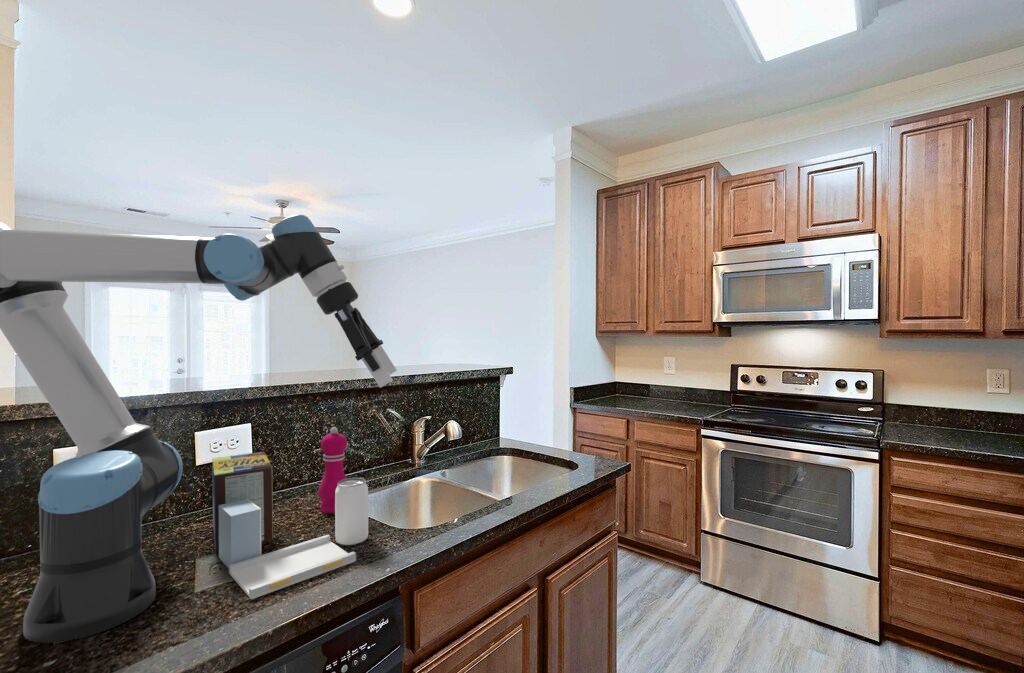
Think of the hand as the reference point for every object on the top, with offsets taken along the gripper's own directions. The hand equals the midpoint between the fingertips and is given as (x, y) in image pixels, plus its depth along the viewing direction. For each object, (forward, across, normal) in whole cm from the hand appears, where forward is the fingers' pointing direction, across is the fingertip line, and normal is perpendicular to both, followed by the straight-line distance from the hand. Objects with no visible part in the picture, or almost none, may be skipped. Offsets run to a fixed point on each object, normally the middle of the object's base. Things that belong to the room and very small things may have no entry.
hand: (389, 378), depth 98 cm
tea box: (+14, -6, +40) cm, 43 cm away
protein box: (+13, +7, +45) cm, 47 cm away
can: (+25, -1, +24) cm, 35 cm away
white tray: (+20, -11, +31) cm, 38 cm away
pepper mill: (+22, +19, +31) cm, 42 cm away
